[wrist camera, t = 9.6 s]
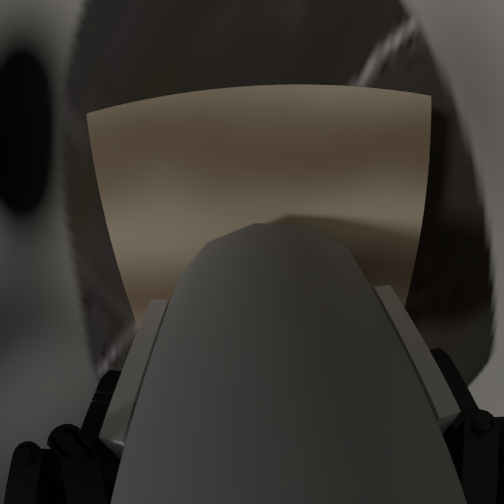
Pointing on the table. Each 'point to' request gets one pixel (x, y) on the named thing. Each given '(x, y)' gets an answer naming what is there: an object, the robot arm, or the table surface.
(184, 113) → the oak stand
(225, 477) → the cup
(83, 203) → the table surface
